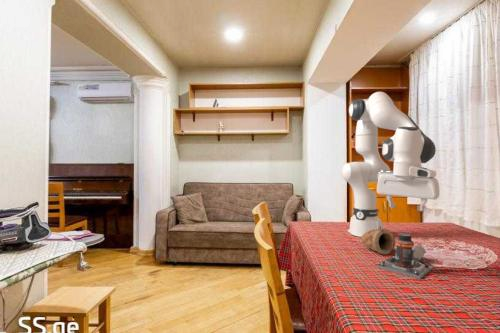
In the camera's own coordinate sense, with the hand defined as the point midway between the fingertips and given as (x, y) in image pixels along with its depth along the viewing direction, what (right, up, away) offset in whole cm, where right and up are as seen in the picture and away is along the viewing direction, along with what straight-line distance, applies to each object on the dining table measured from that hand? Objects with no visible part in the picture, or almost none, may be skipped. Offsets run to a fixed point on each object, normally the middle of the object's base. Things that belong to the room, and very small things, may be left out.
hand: (405, 209), depth 105 cm
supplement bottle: (0, -21, 0) cm, 21 cm away
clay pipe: (0, -22, +23) cm, 32 cm away
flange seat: (+3, -22, +4) cm, 22 cm away
